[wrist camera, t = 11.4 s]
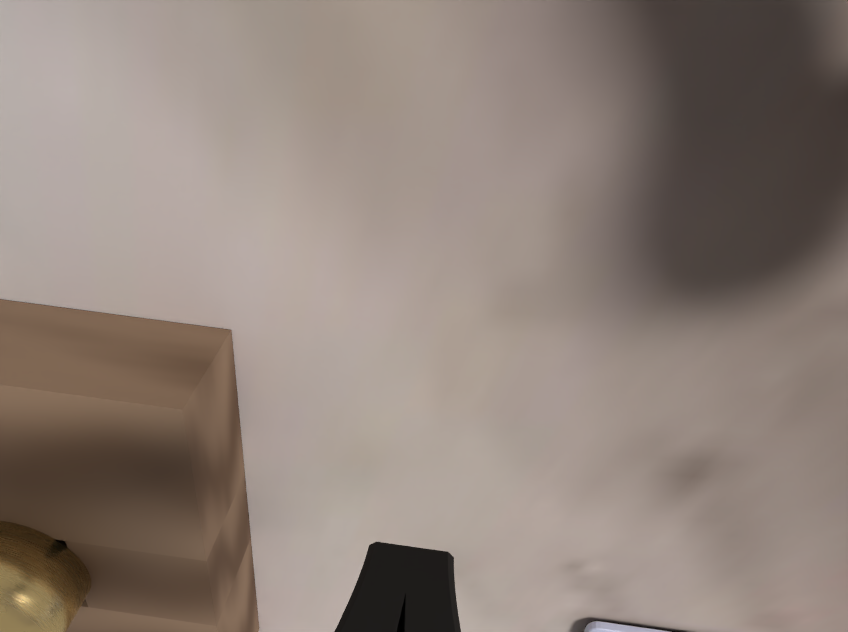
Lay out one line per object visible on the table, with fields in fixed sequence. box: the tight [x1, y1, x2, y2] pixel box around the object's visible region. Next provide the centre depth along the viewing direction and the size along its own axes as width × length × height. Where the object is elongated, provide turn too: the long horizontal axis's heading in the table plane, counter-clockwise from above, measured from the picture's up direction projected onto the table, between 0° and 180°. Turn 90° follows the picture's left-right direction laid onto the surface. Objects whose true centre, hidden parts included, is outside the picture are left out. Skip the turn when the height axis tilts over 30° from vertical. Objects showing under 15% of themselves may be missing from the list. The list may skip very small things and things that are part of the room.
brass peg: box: [0, 521, 91, 632], centre depth 24 cm, size 5×5×6 cm
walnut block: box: [0, 299, 259, 632], centre depth 25 cm, size 18×14×4 cm
